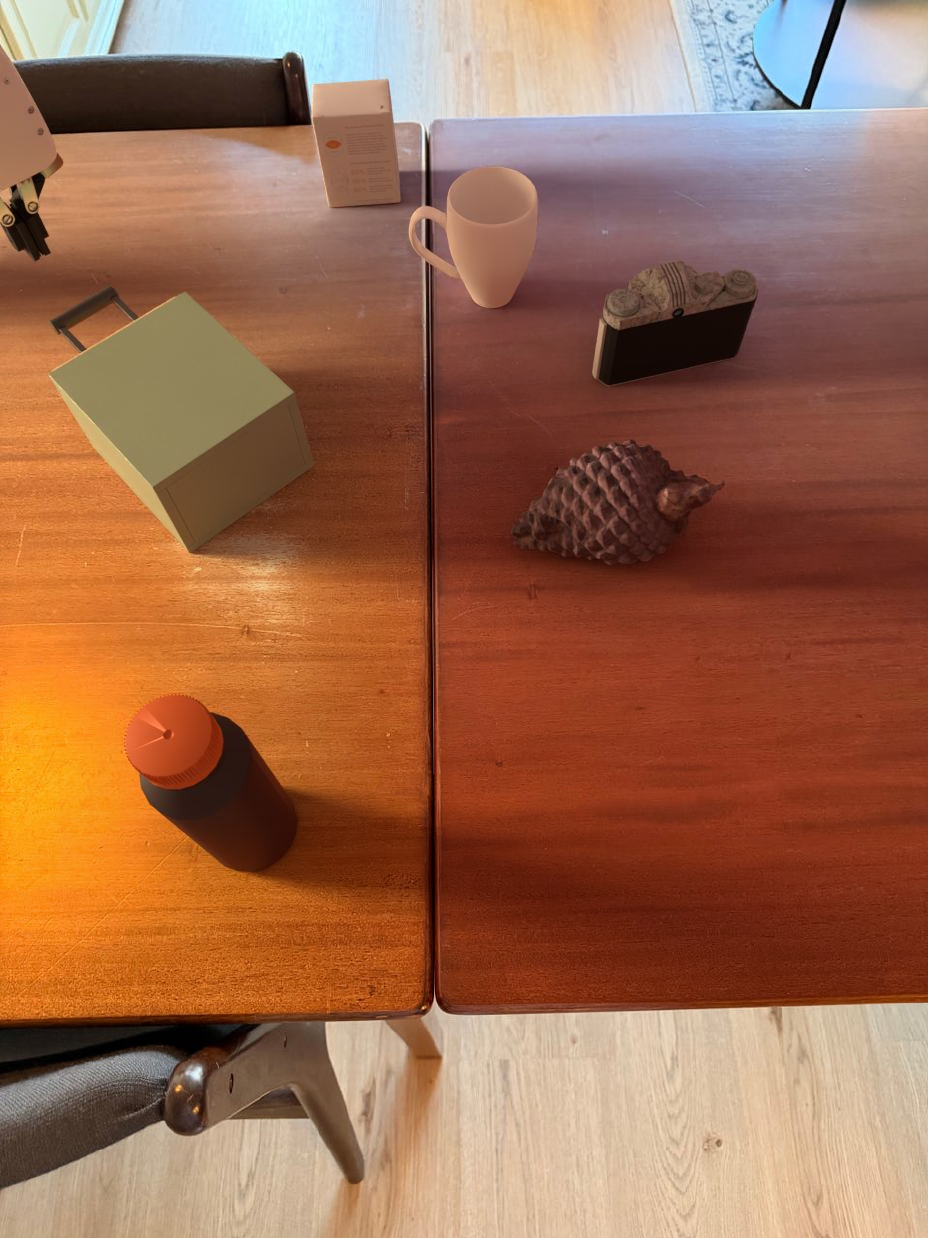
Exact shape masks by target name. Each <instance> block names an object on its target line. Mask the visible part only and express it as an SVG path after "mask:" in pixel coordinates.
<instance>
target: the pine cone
mask: <svg viewBox="0 0 928 1238" xmlns="http://www.w3.org/2000/svg"><path fill="white" fill-rule="evenodd" d="M725 486H726V481H725V480H724V479H723V480H720V481H719V482H717V483H716V484H715V483H714V484H711V482H710V481H708V480H707V479H706V478H704V477H700V476H698V474H692V475H690V476H686V475H685V472H684V471H683V470H681V469H680V470H677V471H676V470H673V469H672V468H671V465H670V464H669V460H667V459H665V458H664V457H662V451H660V450H658V449H654V448H653V447H652V445H651V444H645V445H644V444H643V445H641V446H639V444H638V443H637V442H636V440H634V439H628V440H625V441H623V443H621V444H620V443H619V442H616V441H611V442H608V443H605V444H603V445H596V446H594V447H593V448H592V451H585V452H584V453H583V454H582V455H581V456H578V457H577V456H573V457H571V459H570V460H569V466H567V467H565V466H564V467H559V468H558V470H557V471H556V474H555V476H553V477H551V478H550V480H549V481H548V484H547V486H546V487H545V488H544V490H543V493H542V494H543V495H540V496H539V497H537V498H536V499H534V500H531V501H530V503H529V508H528V509H527V511H523V512H522V513H521V514H520V517H518V519H517V522H514V523H512V525H511V530H510V537H513V538H514V540H513V542H512V544H513V545H514V546H515V547H516V548H517V549H523V550H528V549H531V550H533V551H541V552H543V553H548V552H552V553H556V554H558V555H561V556H562V557H563V558H565V557H566V558H567V557H574V558H579V559H581V558H586V559H587V560H589V561H592V560H595V559H599V560H603V561H604V563H605V564H607V565H609V566H611V565H615V564H616V563H620V564H622V565H623V564H628V565H632V564H636V563H637V562H638V561H639V560H640V561H641V562H648V561H650V560H652V559H653V558H652V557H654V556H655V555H656V554H662V553H666V550H667V547H668V545H670V543H672V542H673V541H675V540H676V537H677V536H678V535H679V536H680V537H684V536H685V535H686V534H687V531H688V526H689V516H690V514H691V513H692V511H693V510H695V509H697V508H700V507H703V506H705V505H706V504H708V503H709V502H710V501H712V500H713V497H714V496H715V493H716V492H718V491H720V490H722V489H723V488H724V487H725Z"/></svg>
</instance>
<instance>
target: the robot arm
mask: <svg viewBox="0 0 928 1238" xmlns="http://www.w3.org/2000/svg"><path fill="white" fill-rule="evenodd" d="M63 165H64V158H62V156H61V155H60V154H59V152H58V151H57V146H56V144H55V141H54V138H53V136H52V133H51V132H50V129H49V127H48V125H47V123H46V121H45V119H44V117H43V115H42V113H41V111H40V109H39V108H38V105H37V104H36V102H35V100H34V98H33V96H32V95H31V92H30V91H29V89H28V87H27V85H26V84H25V81H24V80H23V79H22V77H21V74H20V73H19V71H18V70H17V68H16V66H15V65H14V63H13V62H12V60H11V59H10V57H9V55H8V54H7V52H6V51H5V49H4V47H3V46H2V44H0V193H1V192H3V191H5V190H7V189H8V191H9V193H10V195H11V198H10V199H9V200H8V201H9V204H7V202H5V201H4V200H3V199H2V197H1V196H0V226H1V228H2V230H3V232H4V234H5V235H6V238H7V239H8V241H9V243H10V244H11V246H12V247H13V248H14V250H15V251H16V252H18V253H20V252H22V251H24V252H25V253H26V254H27V255H28V256H29V257H30V258H31V259H32V260H33V262H37V261H39V260H41V257H42V256H45V257H47V256H49V255H50V254H52V252H51V249H50V248H49V245H48V244H47V241H46V239H47V238H48V237H50V234H49V232H48V230H47V228H46V226H45V224H44V222H43V220H42V218H41V216H40V214H39V211H40V209H41V204H40V200H39V199H40V197H41V194H42V191H43V188H44V186H45V184H46V183H45V182H46V179H49V178H51V177H52V175H54V174H55V173H56V172H58V171H59V170H60V169H61V168H63Z"/></svg>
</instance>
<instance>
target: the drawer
mask: <svg viewBox="0 0 928 1238" xmlns="http://www.w3.org/2000/svg"><path fill="white" fill-rule="evenodd" d="M175 297H177V296H176V295H175V296H173V297H171V298H169V299H168V300H166V301H165V302H163V303H161V304H159V305H158V306H156V307H155V308H153V309H152V310H150V311H148V312H146V313H144V314H143V315H141V316H138V314H136V313H135V312H134V311H133V310H132V309H131V308H130V307H129V306H128V305H127V304H126V303H125V301H123V300H122V299H121V298H120V295H119V294H118V292H117V290H116V289H115V288H114V287H113V285H110V284H109V285H108V286H106V287H105V288H103V289H101V290H99V291H97V292H96V293H94V294H92V295H90V296H89V297H87V298H86V299H83V300H82V301H80V302H79V303H76V304H75V305H73V306H72V307H70V308H68V309H66V310H65V311H63V312H61V313H60V314H58V315H56V316H55V317H53V318H51V319H49V320H48V324H49V325H50V327H51V328H52V330H53V331H54V332H55V334H56V335H57V336H60V335H62V336H63V337H64V339H66V340H67V342H68V343H69V344H70V345H71V346H72V347H73V348H74V349H75V350H76V351H77V352H78V353H77V355H75V356H73V357H72V358H70V359H68V360H67V361H65V362H64V363H61V364H60V365H58V366H57V367H55V368H54V369H52V370H51V372H52V371H54V370H56V369H57V368H59V367H61V366H62V365H64V364H66V363H67V362H69V361H71V360H72V359H74V358H76V357H77V356H79V355H81V354H82V353H84V352H86V351H87V350H89V349H91V348H92V347H94V346H95V345H97V344H99V343H100V342H102V341H104V340H105V339H107V338H109V337H110V336H112V335H114V334H115V333H117V332H119V331H120V330H122V329H124V328H125V327H127V326H129V325H130V324H132V323H134V322H135V321H137V320H139V319H140V318H142V317H144V316H145V315H147V314H149V313H150V312H152V311H154V310H155V309H157V308H159V307H160V306H162V305H164V304H165V303H167V302H168V301H170V300H172V299H173V298H175ZM112 304H113V305H114V306H116V308H117V309H118V310H119V311H120V312H121V313H123V314H124V316H126V317H127V319H129V320H130V323H128V324H126V325H124V326H123V327H121V328H120V329H118V330H116V331H115V332H113V333H111V334H109V335H108V336H106V337H105V338H103V339H101V340H100V341H98V342H96V343H95V344H93V345H91V346H90V347H88V348H87V347H85V346H84V345H83V343H82V342H81V341H80V340H79V339H78V338H77V337H76V336H75V335H74V334H73V333H72V332H71V331H70V329H72V328H73V327H76V326H77V325H78V324H81V322H85V320H87V319H89V318H91V317H93V316H94V315H95V314H97V313H99V312H101V311H102V310H104V309H106V308H108V307H109V306H111V305H112Z"/></svg>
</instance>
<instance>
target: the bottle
mask: <svg viewBox="0 0 928 1238" xmlns="http://www.w3.org/2000/svg"><path fill="white" fill-rule="evenodd" d="M131 719H132V720H129V721H130V722H129V723H128V725H127V727H126V730H125V734H124V736H125V737H124V742H123V744H125V745H124V746H123V747H124V748H125V749H124V751H125V755H126V758H127V761H129V764H131V766H132V768H134V769H135V770H136V771H137V773H138V774H139V776H138V777H139V783H140V789H141V791H142V793H143V795H144V796H145V799H146V801H147V802H148V804H149V805H150V806H151V807H153V808H154V810H156V811H157V812H159V814H160V815H161V816H163V817H164V818H166V820H168V821H169V822H170V823H171V824H173V825H174V826H175V827H176V828H178V829H179V830H180V831H181V832H182V833H184V834H185V835H186V836H187V837H188V838H190V839H191V840H192V841H193V842H194V843H196V844H197V845H198V846H199V847H201V848H202V849H203V850H204V851H206V853H208V855H210V856H212V857H213V858H214V859H215V860H216V861H218V862H219V863H220V864H221V865H222V866H223V867H224V868H228V869H230V870H233V871H236V872H240V873H241V872H242V873H243V872H244V873H254V872H257V871H260V870H264V869H267V868H269V867H271V866H273V865H274V864H275V863H277V862H279V861H280V860H281V859H282V858H283V856H285V854H286V853H287V852H288V851H289V849H290V848H291V846H292V844H293V841H294V839H295V837H296V835H297V829H298V821H299V820H298V814H297V810H296V806H295V804H294V803H293V801H292V799H291V798H290V796H289V794H288V792H287V791H286V789H285V788H284V787H283V785H282V784H281V782H280V781H279V779H278V778H277V776H275V773H274V772H273V771H272V770H271V767H269V765H268V764H267V762H266V761H265V759H264V758H263V757H262V755H261V754H260V752H259V751H258V749H257V748H256V747H255V745H254V744H253V742H252V741H251V739H250V738H249V736H248V735H247V734H246V732H245V731H244V729H243V728H242V727H241V726H240V725H239V724H237V723H236V722H235V721H233V720H232V719H231V718H229V717H228V716H225V715H222V714H219V713H216V712H213V711H210V710H209V709H208V708H207V706H206V705H204V704H203V703H201V701H200V700H198V699H197V698H195V697H192V696H188V695H187V694H185V695H184V694H180V693H178V694H177V693H175V694H173V693H171V694H167V695H165V694H164V695H163V696H159V697H156V698H155V699H154V698H153V699H152V701H150V700H149V702H148V703H145V704H144V705H142V707H141V708H139V710H138V711H136V713H134V714H133V716H132V717H131Z"/></svg>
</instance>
